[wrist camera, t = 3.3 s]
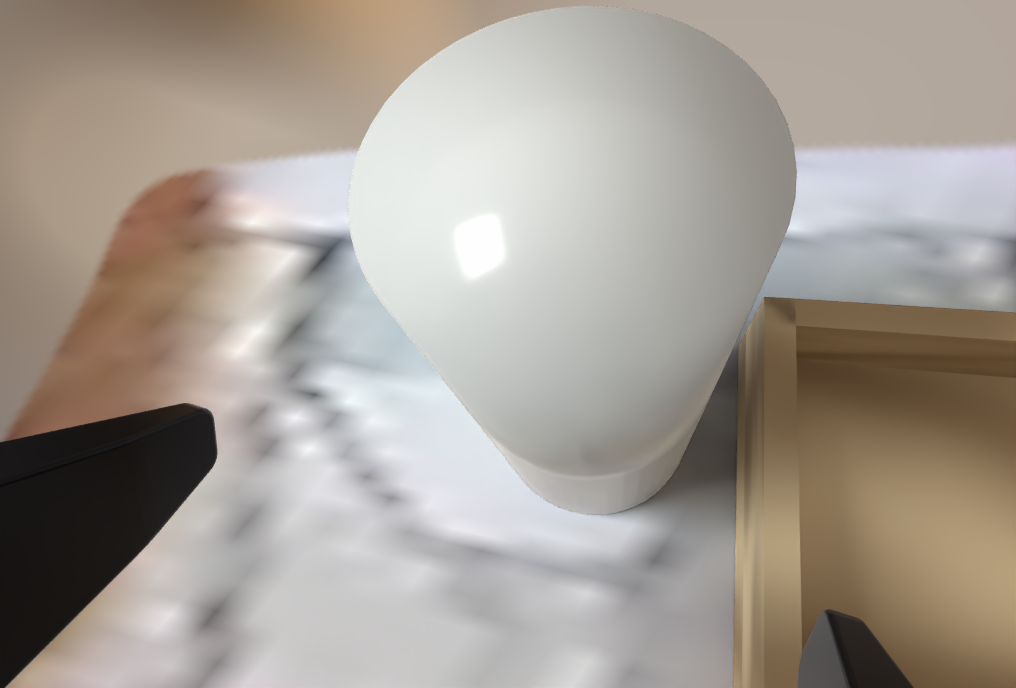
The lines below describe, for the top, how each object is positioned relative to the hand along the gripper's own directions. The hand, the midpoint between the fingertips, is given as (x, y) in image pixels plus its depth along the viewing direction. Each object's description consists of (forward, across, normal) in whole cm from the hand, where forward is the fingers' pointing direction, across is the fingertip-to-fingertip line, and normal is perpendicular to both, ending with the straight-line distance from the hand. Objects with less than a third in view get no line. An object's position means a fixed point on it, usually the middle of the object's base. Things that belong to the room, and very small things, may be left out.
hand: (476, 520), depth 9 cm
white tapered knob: (+11, 0, +5) cm, 12 cm away
